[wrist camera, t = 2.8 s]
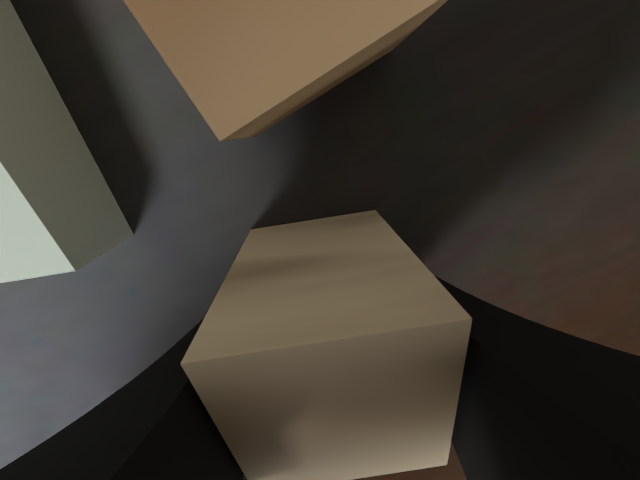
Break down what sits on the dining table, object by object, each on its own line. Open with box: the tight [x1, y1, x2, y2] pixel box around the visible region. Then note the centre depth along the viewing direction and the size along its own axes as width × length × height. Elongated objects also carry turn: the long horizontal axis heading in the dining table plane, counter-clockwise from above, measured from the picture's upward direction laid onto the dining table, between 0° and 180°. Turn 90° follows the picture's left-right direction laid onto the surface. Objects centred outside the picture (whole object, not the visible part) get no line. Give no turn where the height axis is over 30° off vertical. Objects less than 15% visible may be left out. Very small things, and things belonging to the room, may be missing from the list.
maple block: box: [180, 210, 472, 480], centre depth 8 cm, size 5×5×6 cm
